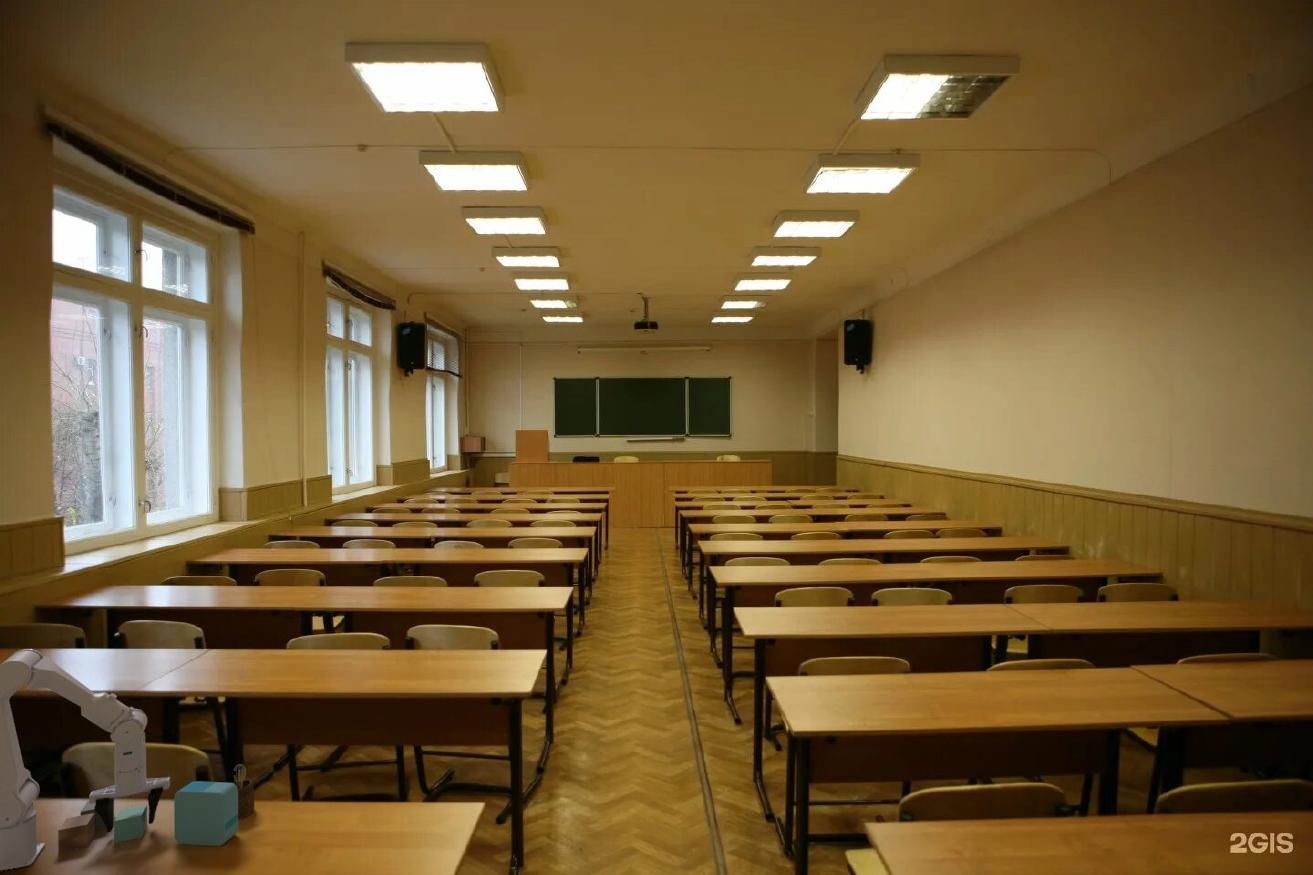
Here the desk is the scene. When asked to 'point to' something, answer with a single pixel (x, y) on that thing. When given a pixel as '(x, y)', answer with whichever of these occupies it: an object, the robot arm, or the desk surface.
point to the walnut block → (76, 832)
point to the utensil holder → (244, 794)
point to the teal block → (130, 823)
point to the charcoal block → (97, 819)
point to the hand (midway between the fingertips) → (131, 825)
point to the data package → (206, 813)
